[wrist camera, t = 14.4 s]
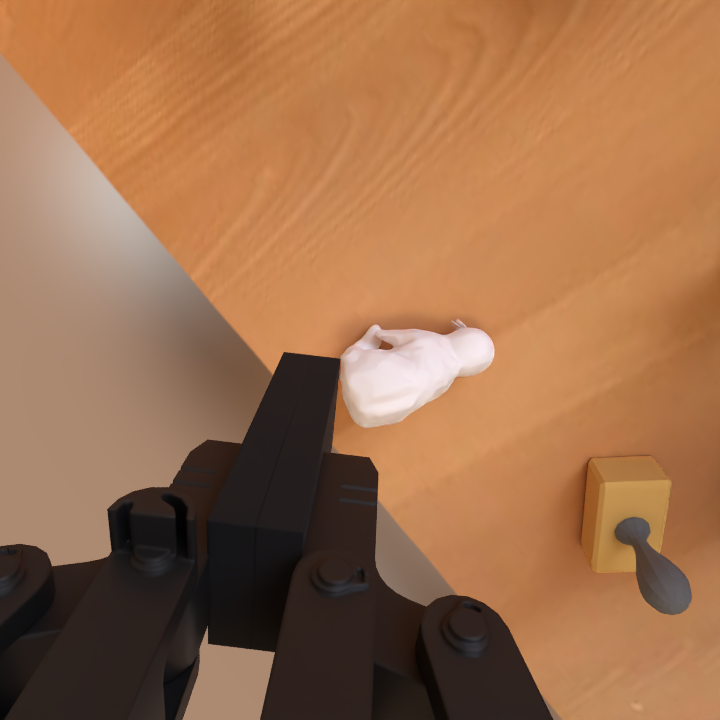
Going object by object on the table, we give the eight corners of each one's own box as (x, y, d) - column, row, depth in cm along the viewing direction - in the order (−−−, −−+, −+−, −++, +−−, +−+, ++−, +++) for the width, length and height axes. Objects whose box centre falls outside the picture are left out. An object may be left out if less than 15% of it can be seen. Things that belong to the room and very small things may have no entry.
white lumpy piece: (331, 373, 37) (506, 331, 37) (332, 330, 45) (476, 295, 45) (354, 451, 40) (519, 412, 39) (351, 397, 48) (488, 365, 47)
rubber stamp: (641, 543, 53) (707, 655, 42) (579, 545, 53) (627, 656, 42) (655, 455, 49) (730, 554, 38) (587, 458, 49) (642, 556, 38)
